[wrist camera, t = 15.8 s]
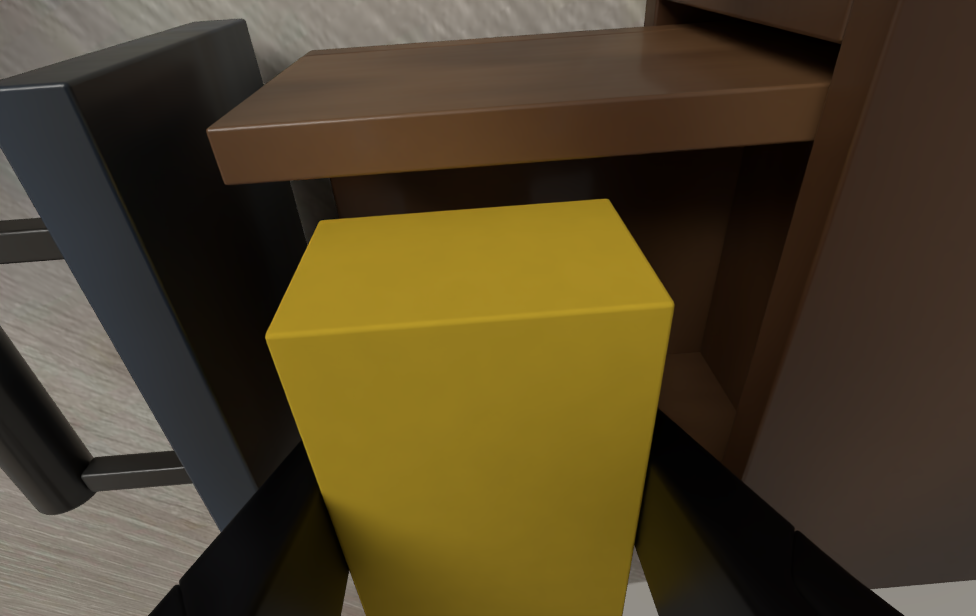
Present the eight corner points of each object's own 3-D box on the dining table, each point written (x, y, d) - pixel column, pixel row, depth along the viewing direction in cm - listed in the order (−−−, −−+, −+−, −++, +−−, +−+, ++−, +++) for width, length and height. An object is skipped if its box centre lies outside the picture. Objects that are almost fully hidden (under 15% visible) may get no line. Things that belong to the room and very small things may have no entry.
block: (318, 218, 8) (261, 335, 6) (609, 196, 8) (678, 303, 6) (390, 502, 12) (375, 645, 10) (586, 485, 12) (622, 623, 10)
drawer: (170, 407, 18) (46, 611, 13) (-31, 37, 12) (-460, 119, 6) (703, 363, 19) (812, 544, 13) (787, -20, 12) (1076, 9, 7)
